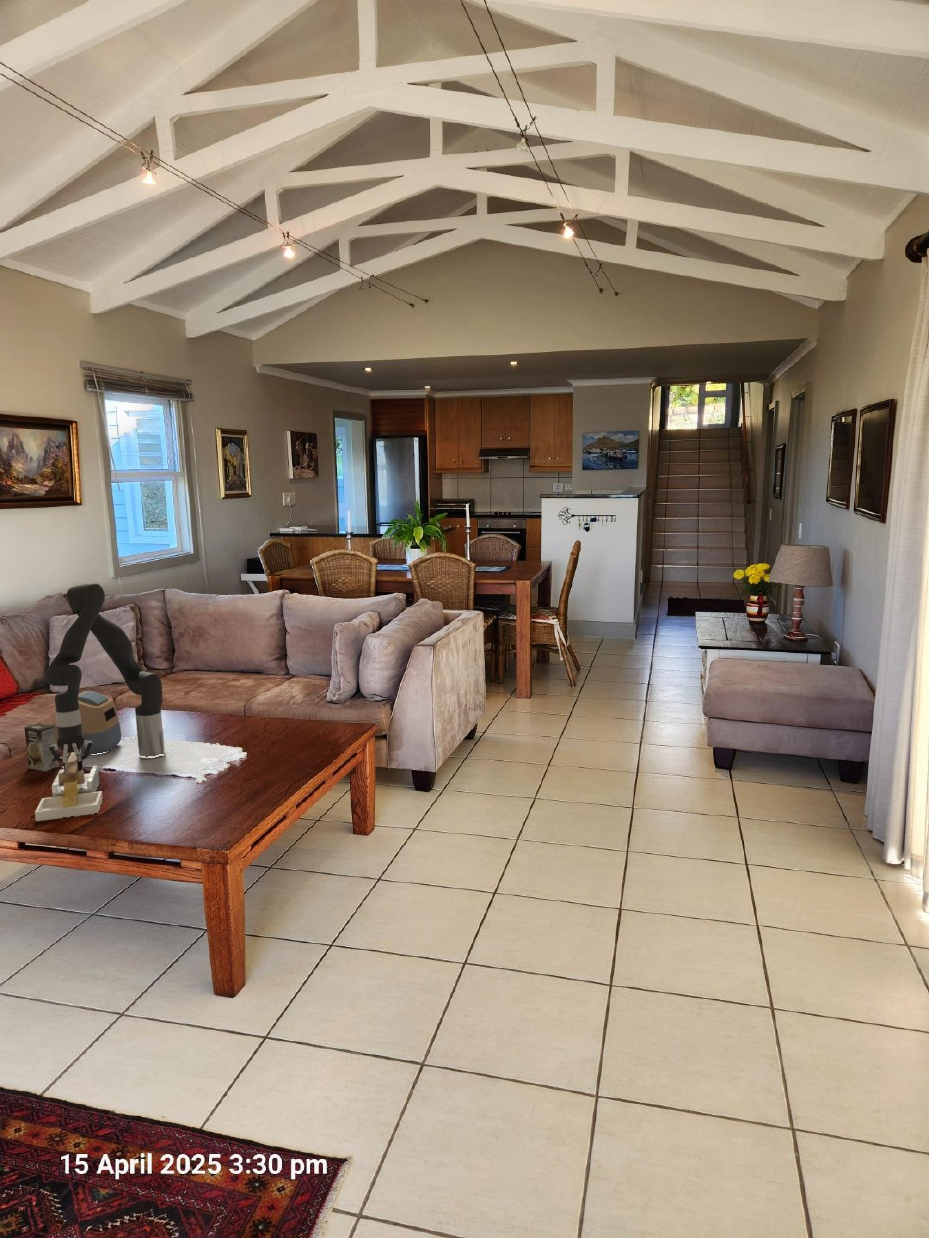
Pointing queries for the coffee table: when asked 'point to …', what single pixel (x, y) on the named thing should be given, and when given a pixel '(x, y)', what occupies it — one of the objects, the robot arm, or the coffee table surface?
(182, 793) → the coffee table surface
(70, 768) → the beige wedge bookend
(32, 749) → the coffee box
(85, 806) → the tray
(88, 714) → the two-tone rounded housing
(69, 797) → the block
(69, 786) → the block
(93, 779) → the channel
